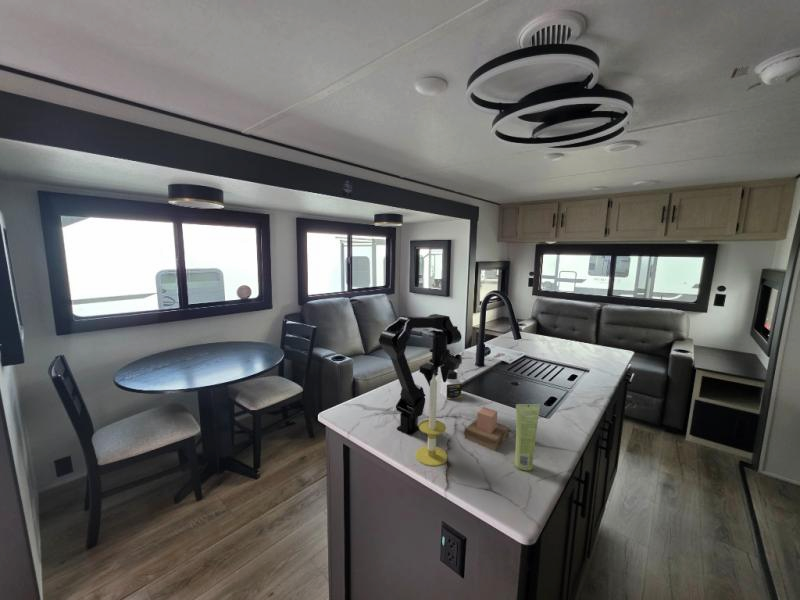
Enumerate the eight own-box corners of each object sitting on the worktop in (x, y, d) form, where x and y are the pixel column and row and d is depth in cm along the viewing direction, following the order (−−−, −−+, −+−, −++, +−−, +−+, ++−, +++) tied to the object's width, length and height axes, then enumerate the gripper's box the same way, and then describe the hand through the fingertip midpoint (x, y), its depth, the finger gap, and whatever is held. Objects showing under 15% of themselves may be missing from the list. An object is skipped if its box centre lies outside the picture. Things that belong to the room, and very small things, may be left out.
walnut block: (494, 452, 102) (495, 440, 102) (464, 439, 110) (465, 428, 109) (508, 438, 111) (509, 427, 110) (479, 427, 118) (480, 416, 117)
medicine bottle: (446, 399, 139) (447, 373, 138) (440, 393, 146) (441, 368, 145) (461, 398, 141) (462, 372, 140) (454, 391, 148) (455, 366, 147)
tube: (519, 457, 99) (523, 398, 97) (535, 465, 96) (540, 403, 93) (511, 466, 95) (515, 404, 92) (528, 474, 92) (533, 410, 89)
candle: (430, 443, 106) (432, 365, 103) (454, 457, 99) (457, 374, 95) (408, 454, 100) (410, 372, 96) (432, 470, 92) (434, 382, 89)
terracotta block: (490, 433, 106) (491, 416, 105) (476, 428, 109) (477, 412, 108) (496, 427, 110) (497, 411, 109) (482, 422, 113) (483, 407, 112)
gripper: (445, 356, 110) (443, 399, 112) (469, 345, 125) (468, 383, 127) (419, 350, 117) (418, 390, 119) (445, 340, 131) (444, 376, 134)
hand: (438, 385), depth 124 cm, fingers open, 9 cm apart
